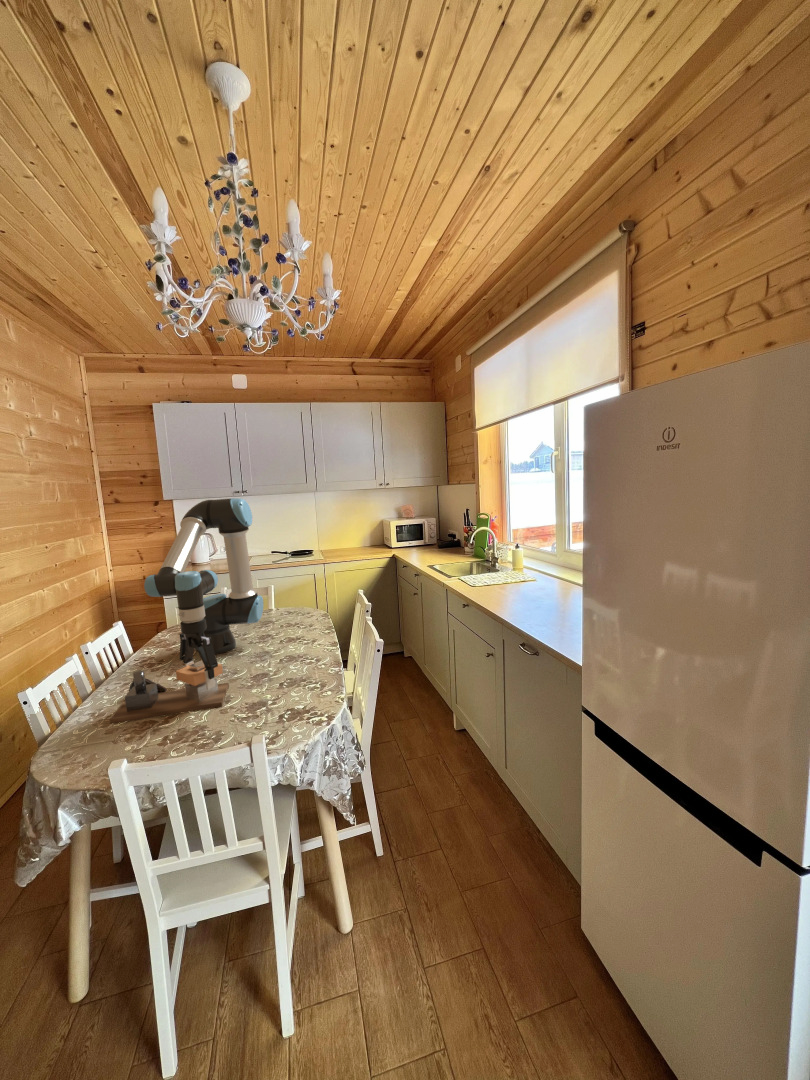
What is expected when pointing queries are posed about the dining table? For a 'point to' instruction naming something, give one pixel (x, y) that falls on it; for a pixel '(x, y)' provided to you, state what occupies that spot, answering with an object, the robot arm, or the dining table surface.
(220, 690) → the board
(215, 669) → the collar
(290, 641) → the dining table surface
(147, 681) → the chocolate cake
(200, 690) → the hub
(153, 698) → the stand
